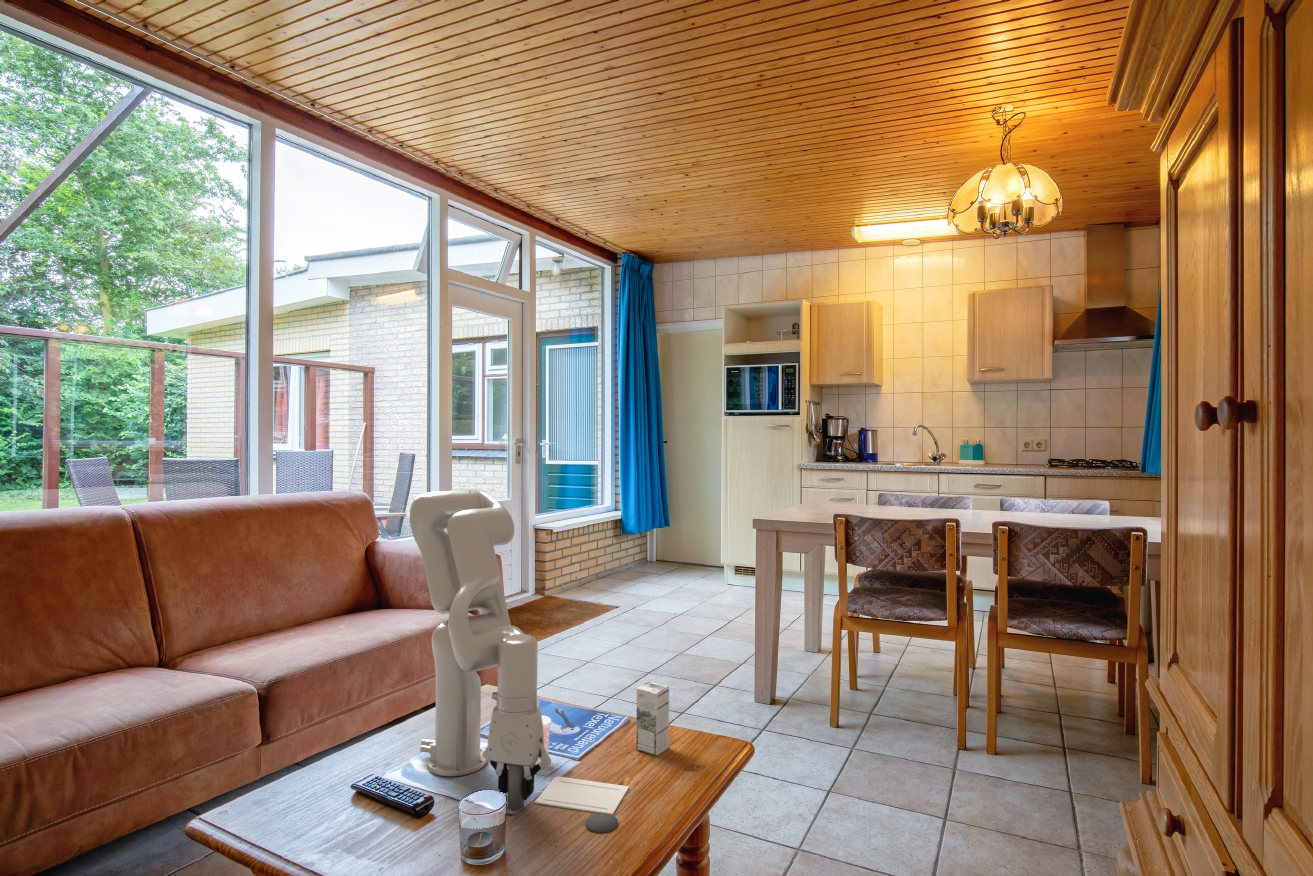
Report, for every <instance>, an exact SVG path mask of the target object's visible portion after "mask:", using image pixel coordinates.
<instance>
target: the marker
mask: <svg viewBox="0 0 1313 876" xmlns="http://www.w3.org/2000/svg"><path fill="white" fill-rule="evenodd" d="M524 778H525V773H524V767H523V766H520V765H512V764H508V792H507V799H506V800H507V801H508V808H507V809H508V810H510V811H513V812H515V811H520V810H522V809H524V807H525V800H523V799H522V781H523V779H524Z"/></svg>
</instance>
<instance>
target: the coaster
mask: <svg viewBox="0 0 1313 876" xmlns="http://www.w3.org/2000/svg"><path fill="white" fill-rule="evenodd" d="M584 824H585V828H586V829H587V830H588V831H590V832H592V833H596V834H605V833H609V832H610V833H611V832H612V831H614V830H615V829H616V828H617V827H618V824H619V820H618V818H617V817H616V816H614V814H613V815H610V814H605V813H595V814H592V815H590V816H588V817H587V818H586V819H585V823H584Z"/></svg>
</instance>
